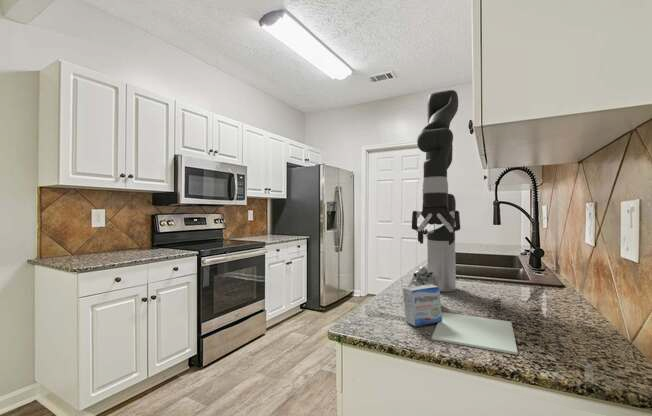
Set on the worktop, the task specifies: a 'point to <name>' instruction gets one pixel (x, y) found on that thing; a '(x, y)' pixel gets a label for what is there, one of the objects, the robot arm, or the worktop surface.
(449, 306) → the worktop surface
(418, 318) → the medicine box
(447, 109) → the robot arm
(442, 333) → the cutting board
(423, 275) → the heart
